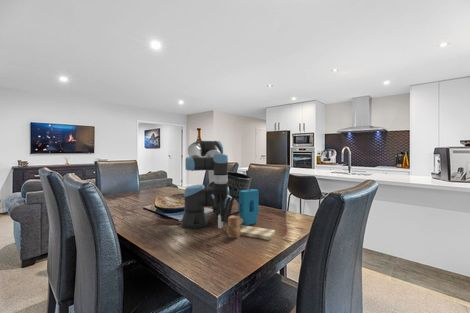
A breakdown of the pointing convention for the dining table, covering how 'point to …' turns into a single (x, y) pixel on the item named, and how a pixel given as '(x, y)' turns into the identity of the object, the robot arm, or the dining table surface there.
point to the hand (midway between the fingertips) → (220, 227)
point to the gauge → (234, 226)
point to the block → (249, 206)
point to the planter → (237, 186)
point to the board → (256, 232)
